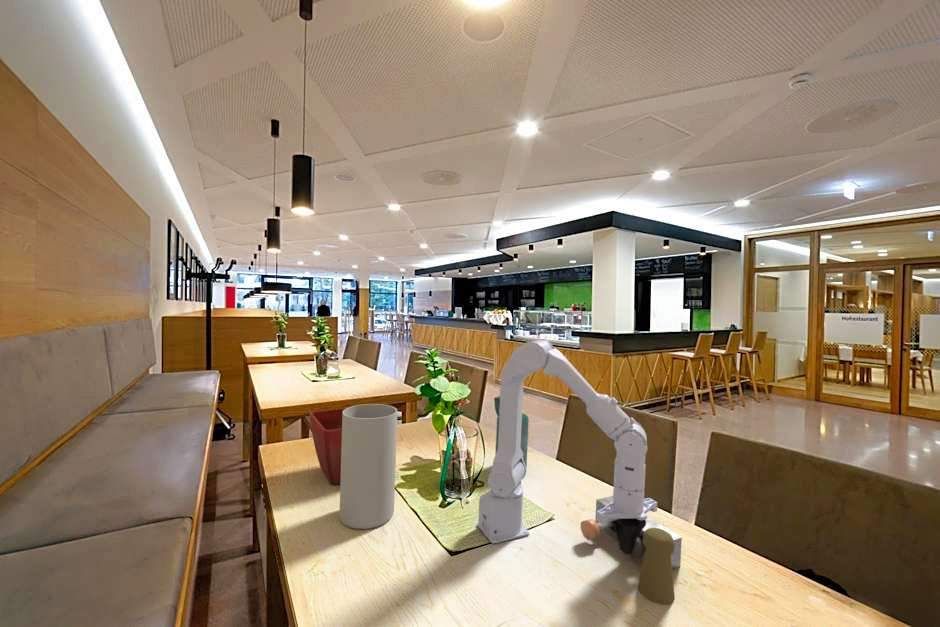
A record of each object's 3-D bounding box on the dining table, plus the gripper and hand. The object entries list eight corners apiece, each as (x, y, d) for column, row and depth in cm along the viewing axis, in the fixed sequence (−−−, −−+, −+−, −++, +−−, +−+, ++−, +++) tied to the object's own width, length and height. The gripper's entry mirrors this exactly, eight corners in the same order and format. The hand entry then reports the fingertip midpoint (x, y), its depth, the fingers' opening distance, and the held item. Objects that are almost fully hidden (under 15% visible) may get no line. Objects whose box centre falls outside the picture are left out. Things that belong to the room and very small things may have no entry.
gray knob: (637, 561, 77) (638, 543, 77) (623, 550, 80) (624, 533, 80) (661, 552, 80) (662, 535, 80) (647, 542, 83) (648, 526, 83)
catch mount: (660, 573, 76) (662, 543, 75) (595, 524, 92) (596, 499, 92) (680, 566, 78) (681, 537, 78) (612, 519, 94) (613, 495, 94)
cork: (679, 607, 67) (682, 545, 67) (642, 600, 68) (645, 539, 68) (668, 583, 73) (671, 525, 73) (634, 577, 74) (637, 520, 74)
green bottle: (528, 466, 123) (531, 398, 123) (517, 476, 116) (520, 403, 116) (501, 459, 129) (504, 393, 128) (488, 467, 121) (491, 398, 121)
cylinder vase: (404, 509, 95) (407, 408, 95) (371, 536, 84) (374, 422, 83) (363, 497, 100) (366, 401, 100) (327, 521, 89) (330, 413, 88)
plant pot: (391, 478, 112) (393, 420, 111) (323, 494, 101) (324, 430, 101) (368, 455, 128) (370, 404, 127) (307, 467, 117) (308, 412, 116)
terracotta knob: (591, 543, 83) (592, 526, 82) (580, 533, 86) (581, 517, 86) (616, 535, 86) (617, 519, 85) (604, 527, 89) (605, 511, 89)
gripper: (616, 500, 71) (613, 573, 72) (671, 487, 77) (668, 554, 78) (590, 483, 78) (587, 550, 78) (642, 473, 84) (639, 535, 84)
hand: (625, 551), depth 78 cm, fingers closed
